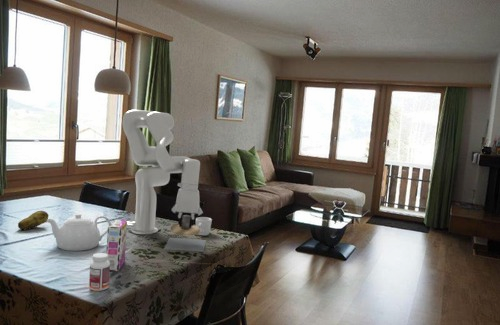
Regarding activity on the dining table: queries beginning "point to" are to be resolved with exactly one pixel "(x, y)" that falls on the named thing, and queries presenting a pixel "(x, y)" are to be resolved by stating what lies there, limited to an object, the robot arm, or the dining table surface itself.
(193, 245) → the mat
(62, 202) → the dining table surface
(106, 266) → the pill bottle
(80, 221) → the teapot
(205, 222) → the cup
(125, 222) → the candy bar box
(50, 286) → the dining table surface
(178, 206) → the robot arm
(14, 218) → the dining table surface
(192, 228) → the lid
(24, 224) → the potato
